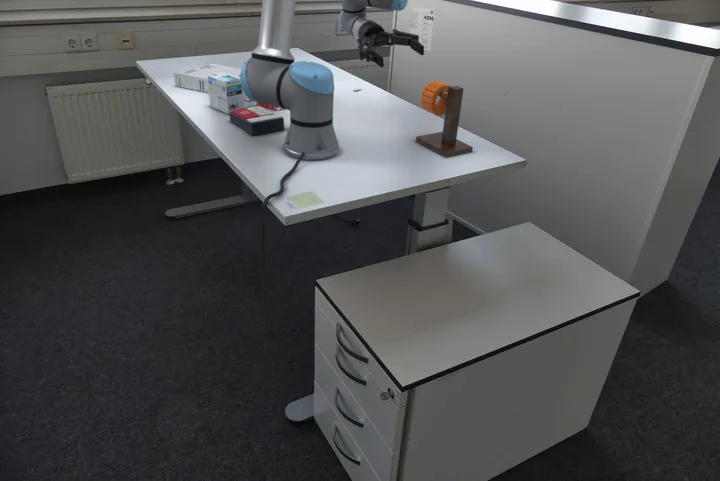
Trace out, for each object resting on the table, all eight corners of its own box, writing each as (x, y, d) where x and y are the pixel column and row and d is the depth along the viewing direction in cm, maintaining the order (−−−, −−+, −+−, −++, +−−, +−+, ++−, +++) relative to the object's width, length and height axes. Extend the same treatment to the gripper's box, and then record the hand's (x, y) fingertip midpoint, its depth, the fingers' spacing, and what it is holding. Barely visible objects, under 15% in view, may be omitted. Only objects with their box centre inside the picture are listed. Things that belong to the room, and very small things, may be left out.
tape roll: (429, 118, 161) (432, 86, 156) (419, 113, 164) (422, 82, 159) (453, 114, 165) (457, 83, 160) (443, 109, 168) (446, 79, 164)
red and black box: (260, 104, 179) (284, 115, 169) (261, 117, 181) (284, 129, 171) (228, 109, 173) (251, 121, 163) (229, 123, 175) (252, 135, 165)
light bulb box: (245, 111, 185) (243, 78, 179) (228, 115, 180) (225, 81, 175) (226, 103, 191) (223, 71, 185) (209, 106, 186) (206, 74, 181)
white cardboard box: (208, 75, 220) (207, 62, 218) (279, 89, 208) (278, 75, 206) (175, 86, 205) (173, 72, 203) (249, 101, 194) (248, 87, 191)
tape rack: (472, 151, 163) (481, 90, 154) (445, 157, 158) (454, 94, 149) (438, 134, 174) (445, 76, 165) (412, 139, 169) (418, 79, 160)
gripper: (403, 34, 183) (438, 57, 169) (334, 54, 176) (365, 80, 162) (402, 11, 178) (439, 33, 164) (332, 30, 171) (364, 55, 157)
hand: (402, 56), depth 163 cm, fingers open, 13 cm apart
